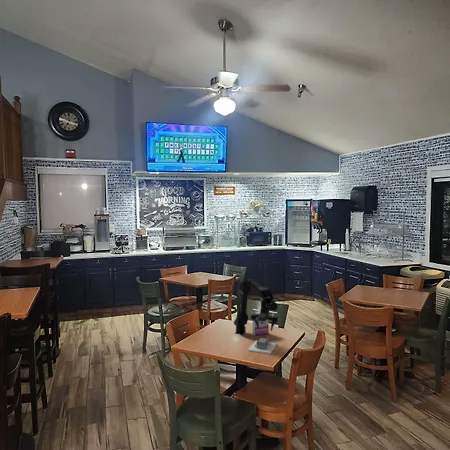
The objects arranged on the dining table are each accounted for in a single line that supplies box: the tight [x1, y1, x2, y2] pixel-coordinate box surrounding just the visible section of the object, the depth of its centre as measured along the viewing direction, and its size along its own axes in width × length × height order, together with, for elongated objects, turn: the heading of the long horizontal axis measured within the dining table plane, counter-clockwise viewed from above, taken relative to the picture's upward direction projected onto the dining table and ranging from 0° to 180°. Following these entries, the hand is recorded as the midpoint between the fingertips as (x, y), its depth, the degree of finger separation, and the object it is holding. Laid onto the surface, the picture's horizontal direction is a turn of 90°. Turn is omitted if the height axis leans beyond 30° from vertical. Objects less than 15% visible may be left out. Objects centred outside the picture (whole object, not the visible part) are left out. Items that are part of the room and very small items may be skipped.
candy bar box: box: [252, 311, 269, 337], centre depth 286 cm, size 11×5×16 cm, turn 112°
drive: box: [256, 337, 270, 349], centre depth 259 cm, size 6×10×4 cm, turn 159°
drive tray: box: [247, 340, 278, 355], centre depth 259 cm, size 15×18×3 cm
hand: (264, 330), depth 262 cm, fingers open, 9 cm apart
